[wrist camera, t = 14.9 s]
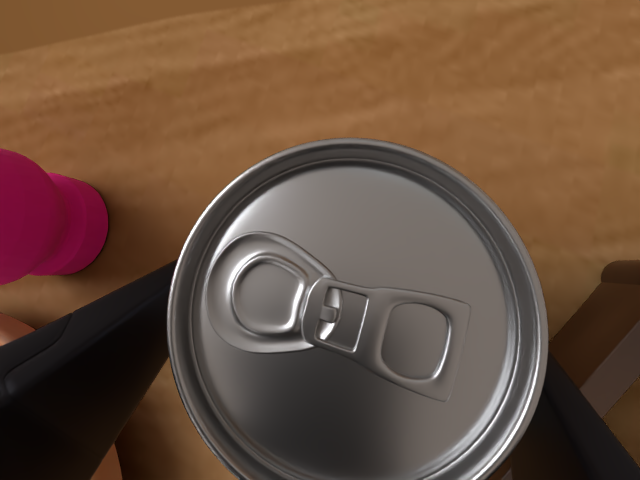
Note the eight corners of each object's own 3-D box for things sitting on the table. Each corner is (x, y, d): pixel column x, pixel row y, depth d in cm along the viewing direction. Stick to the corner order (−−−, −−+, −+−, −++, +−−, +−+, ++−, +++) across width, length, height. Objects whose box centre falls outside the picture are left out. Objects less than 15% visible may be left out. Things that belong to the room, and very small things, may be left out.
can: (319, 207, 17) (202, 79, 5) (440, 236, 16) (638, 154, 4) (289, 322, 17) (94, 459, 5) (409, 360, 16) (523, 654, 4)
